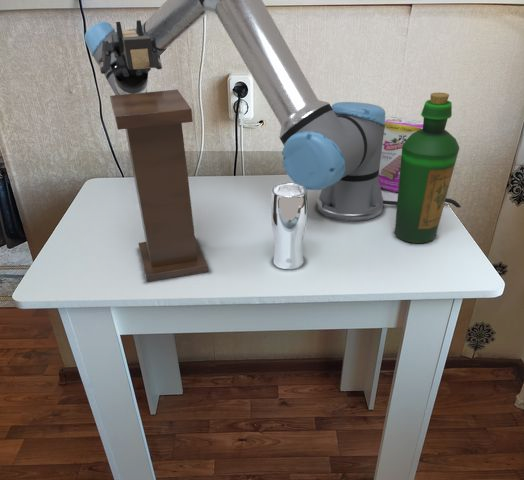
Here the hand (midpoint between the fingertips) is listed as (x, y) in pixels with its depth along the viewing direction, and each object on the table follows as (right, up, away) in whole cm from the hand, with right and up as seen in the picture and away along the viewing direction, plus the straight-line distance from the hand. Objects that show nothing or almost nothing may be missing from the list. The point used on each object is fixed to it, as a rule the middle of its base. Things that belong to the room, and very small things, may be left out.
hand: (129, 29), depth 95 cm
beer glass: (+30, -42, +9) cm, 52 cm away
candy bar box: (+58, -18, +36) cm, 71 cm away
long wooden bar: (+1, -5, +1) cm, 5 cm away
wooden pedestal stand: (+6, -41, +10) cm, 43 cm away
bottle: (+57, -35, +16) cm, 69 cm away
